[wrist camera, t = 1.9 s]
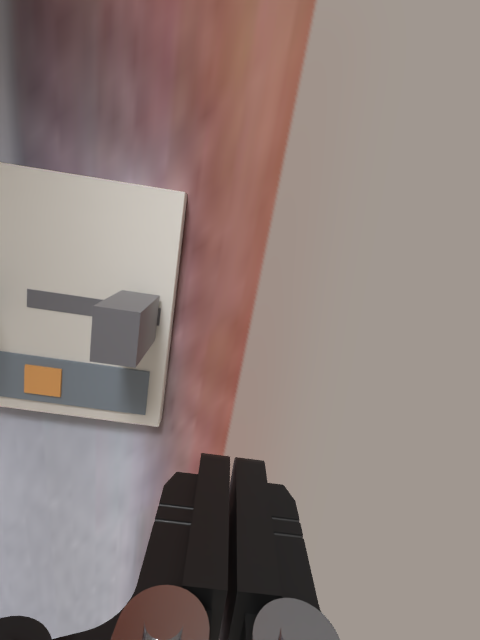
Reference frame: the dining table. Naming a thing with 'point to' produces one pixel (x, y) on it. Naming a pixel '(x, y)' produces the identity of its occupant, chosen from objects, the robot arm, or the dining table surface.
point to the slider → (123, 328)
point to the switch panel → (82, 290)
